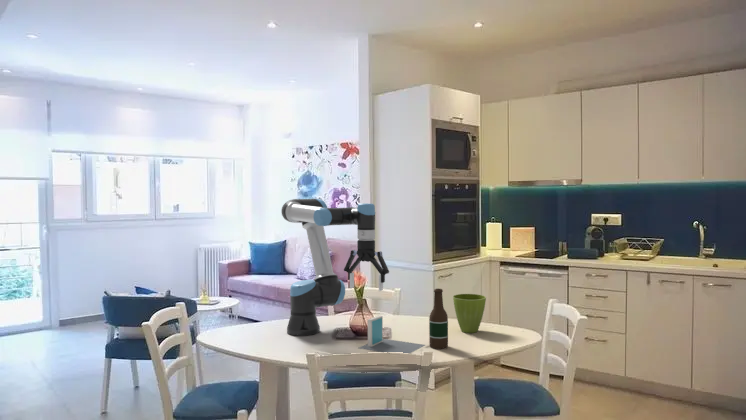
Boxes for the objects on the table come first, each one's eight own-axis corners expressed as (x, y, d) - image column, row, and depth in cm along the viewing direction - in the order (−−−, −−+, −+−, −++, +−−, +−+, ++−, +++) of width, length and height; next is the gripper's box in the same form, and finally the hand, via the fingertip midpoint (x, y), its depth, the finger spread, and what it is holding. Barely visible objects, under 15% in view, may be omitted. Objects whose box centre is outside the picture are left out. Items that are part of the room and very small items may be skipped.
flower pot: (493, 332, 252) (492, 297, 252) (469, 337, 244) (469, 301, 243) (469, 325, 264) (469, 292, 264) (446, 330, 256) (446, 296, 255)
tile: (367, 346, 228) (367, 319, 228) (379, 341, 236) (378, 315, 235) (371, 346, 227) (371, 320, 227) (383, 341, 235) (382, 316, 234)
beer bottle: (427, 344, 232) (427, 287, 231) (446, 344, 232) (445, 287, 232) (431, 349, 224) (430, 290, 223) (450, 349, 225) (449, 290, 224)
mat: (357, 349, 225) (357, 348, 225) (380, 339, 241) (380, 338, 241) (404, 357, 214) (404, 355, 214) (425, 346, 229) (425, 344, 229)
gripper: (336, 239, 237) (336, 288, 238) (390, 241, 227) (389, 292, 228) (344, 237, 244) (344, 285, 245) (396, 240, 234) (396, 289, 235)
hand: (366, 289), depth 236 cm, fingers open, 13 cm apart
